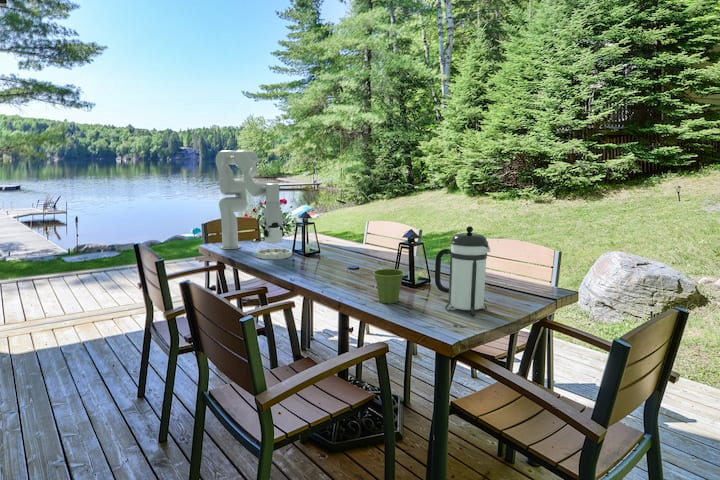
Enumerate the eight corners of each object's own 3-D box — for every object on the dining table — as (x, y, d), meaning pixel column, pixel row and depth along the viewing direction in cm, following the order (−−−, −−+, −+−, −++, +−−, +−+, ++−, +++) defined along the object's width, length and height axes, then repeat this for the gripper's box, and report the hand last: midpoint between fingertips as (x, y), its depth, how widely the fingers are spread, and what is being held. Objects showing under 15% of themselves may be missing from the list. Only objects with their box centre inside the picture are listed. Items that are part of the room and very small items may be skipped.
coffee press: (479, 302, 163) (483, 223, 158) (493, 316, 148) (498, 229, 143) (433, 302, 163) (436, 223, 158) (442, 316, 147) (446, 229, 142)
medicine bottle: (282, 242, 248) (282, 221, 246) (273, 243, 242) (273, 222, 240) (273, 241, 252) (273, 220, 250) (264, 242, 246) (264, 221, 244)
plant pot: (384, 294, 173) (385, 267, 171) (410, 300, 165) (410, 271, 163) (366, 301, 164) (366, 272, 162) (392, 307, 156) (392, 277, 154)
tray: (250, 254, 250) (250, 249, 250) (281, 251, 262) (281, 246, 262) (265, 260, 234) (265, 255, 234) (297, 256, 246) (297, 251, 246)
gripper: (283, 204, 252) (284, 233, 254) (255, 205, 241) (256, 236, 244) (289, 205, 246) (290, 235, 248) (261, 206, 235) (262, 238, 238)
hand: (273, 235), depth 246 cm, fingers closed on medicine bottle, 8 cm apart
